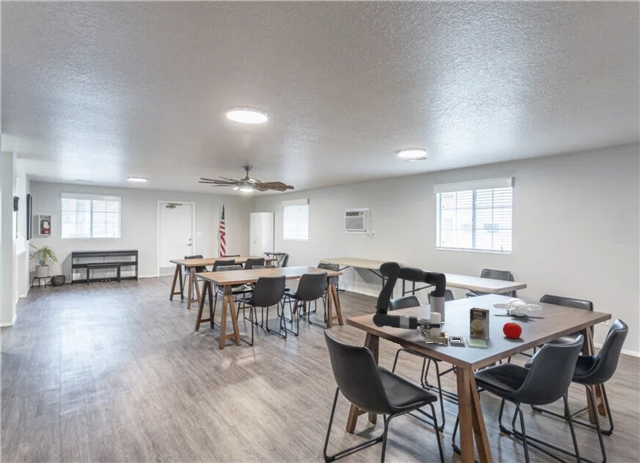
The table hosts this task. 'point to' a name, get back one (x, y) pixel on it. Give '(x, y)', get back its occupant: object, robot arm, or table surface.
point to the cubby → (437, 338)
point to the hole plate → (456, 341)
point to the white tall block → (435, 319)
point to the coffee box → (479, 323)
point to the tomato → (512, 330)
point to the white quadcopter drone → (517, 307)
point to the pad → (477, 343)
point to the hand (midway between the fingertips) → (440, 324)
